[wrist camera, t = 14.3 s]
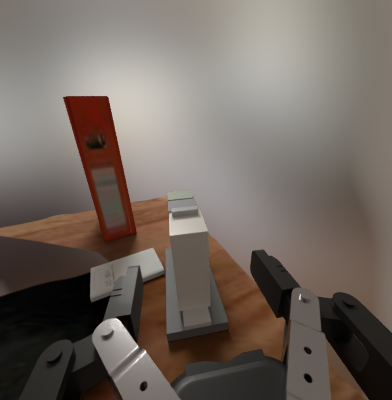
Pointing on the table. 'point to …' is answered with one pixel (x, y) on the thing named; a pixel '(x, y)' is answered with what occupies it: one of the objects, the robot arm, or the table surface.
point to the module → (190, 257)
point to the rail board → (176, 320)
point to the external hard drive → (123, 272)
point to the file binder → (102, 163)
